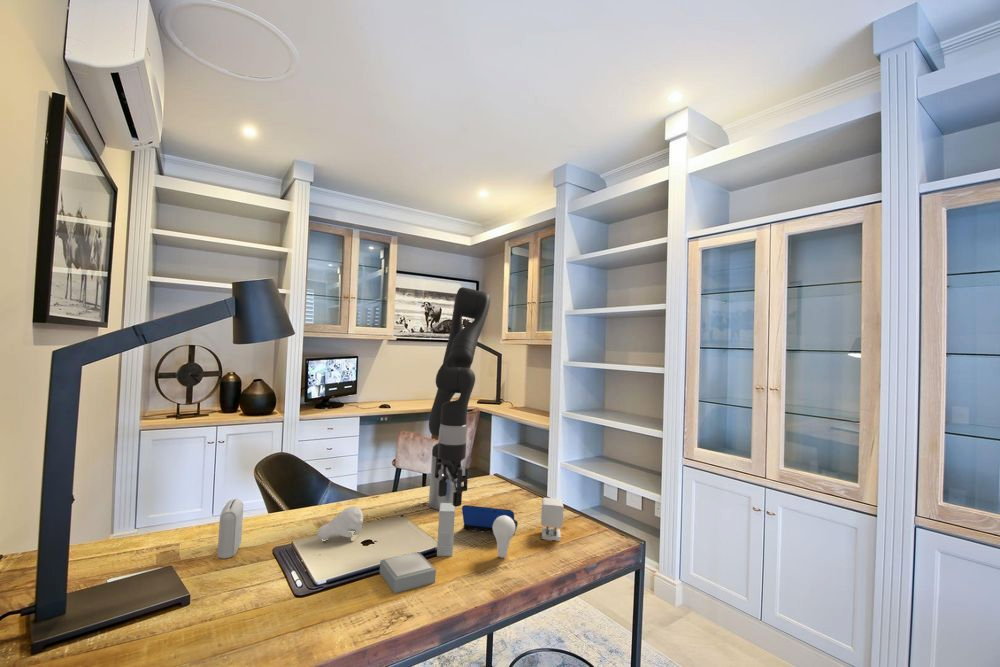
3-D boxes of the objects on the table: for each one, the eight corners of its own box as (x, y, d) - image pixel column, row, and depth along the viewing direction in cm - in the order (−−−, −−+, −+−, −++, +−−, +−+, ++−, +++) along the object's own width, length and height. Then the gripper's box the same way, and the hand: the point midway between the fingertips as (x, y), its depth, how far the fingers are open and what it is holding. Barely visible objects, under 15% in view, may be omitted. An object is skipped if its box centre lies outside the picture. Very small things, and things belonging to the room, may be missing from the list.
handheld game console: (518, 524, 143) (519, 495, 144) (512, 543, 130) (514, 510, 130) (469, 518, 146) (471, 490, 146) (459, 536, 133) (461, 504, 133)
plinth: (379, 572, 110) (380, 559, 110) (418, 563, 115) (419, 550, 115) (394, 593, 101) (395, 578, 101) (435, 582, 107) (435, 568, 107)
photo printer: (224, 541, 121) (227, 495, 121) (242, 540, 122) (245, 494, 122) (215, 560, 111) (218, 509, 111) (234, 558, 112) (238, 508, 112)
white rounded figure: (364, 509, 126) (317, 519, 120) (365, 539, 126) (319, 551, 120) (360, 501, 131) (315, 510, 126) (361, 530, 131) (316, 540, 126)
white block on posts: (561, 531, 140) (562, 499, 140) (561, 541, 133) (563, 507, 133) (540, 529, 140) (542, 497, 140) (540, 539, 133) (542, 505, 133)
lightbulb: (516, 555, 123) (518, 514, 123) (509, 565, 117) (512, 522, 117) (495, 550, 125) (497, 510, 125) (487, 560, 119) (489, 518, 119)
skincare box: (437, 545, 125) (440, 502, 125) (453, 546, 126) (455, 502, 126) (436, 556, 119) (439, 510, 119) (452, 556, 120) (455, 511, 120)
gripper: (477, 445, 119) (474, 507, 119) (452, 434, 131) (449, 491, 131) (452, 447, 115) (449, 512, 115) (428, 436, 127) (425, 494, 126)
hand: (449, 500), depth 123 cm, fingers open, 8 cm apart
